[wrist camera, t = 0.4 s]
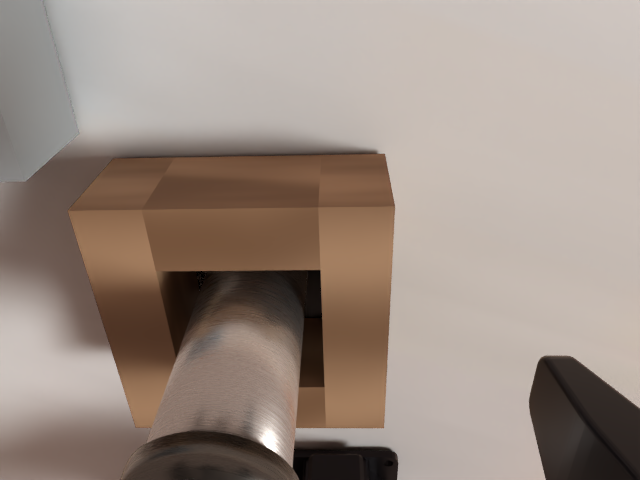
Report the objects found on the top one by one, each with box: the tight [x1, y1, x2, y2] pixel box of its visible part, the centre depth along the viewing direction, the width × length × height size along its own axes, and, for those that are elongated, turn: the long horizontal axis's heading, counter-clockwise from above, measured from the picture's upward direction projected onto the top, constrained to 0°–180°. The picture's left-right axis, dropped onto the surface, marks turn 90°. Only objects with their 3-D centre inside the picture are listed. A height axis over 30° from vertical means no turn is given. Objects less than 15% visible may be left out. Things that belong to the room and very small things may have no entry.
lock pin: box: [120, 270, 308, 480], centre depth 18 cm, size 5×5×11 cm
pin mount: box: [68, 154, 395, 428], centre depth 21 cm, size 10×10×4 cm
